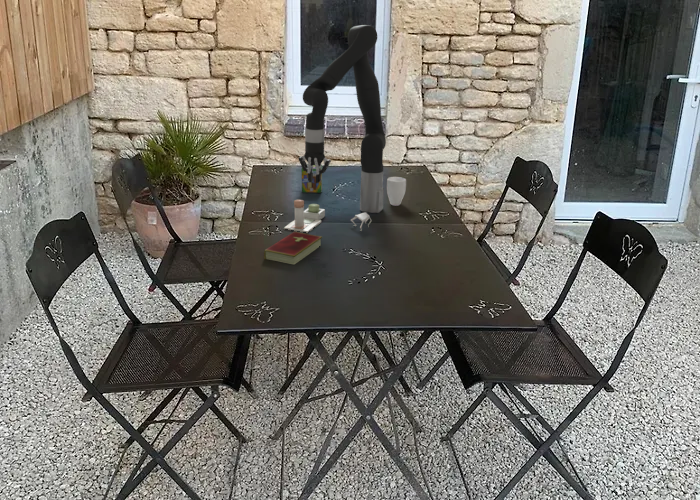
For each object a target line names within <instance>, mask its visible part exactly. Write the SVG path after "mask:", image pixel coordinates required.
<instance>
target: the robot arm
mask: <svg viewBox="0 0 700 500" xmlns="http://www.w3.org/2000/svg"><path fill="white" fill-rule="evenodd" d="M377 42H378V32H377V30H376V28H375V27H374V26H372V25H369V24H362V25H354V26H353V27H351V28H350V29H349V31H348V33H347V44H348V48H347V49H346V50H345V51H344V52H343V53H342V54H341V55H339V56H338V57H337V58H336V59H334V60H333V61H332V62H331V63H330V64H329V65H328V66H327V67H326V68H325V70H324V71H323V72H322V74H321V75H320V76H319V77H318V78H317V79H315V80H314V81H312V83H310V84H309V85H308V86H307V87H306V88H305V89H304V91H303V92H302V93H303V94H302V101H303V103H304V104H305V105H307V106H310V107H312V110H311V112H308V113H307V114H306V117H305V135H304V145H305V146H304V148H305V149H304V150H305V151H304V155H302V156H299V157H298V159H297V160H298V161H299V163H300V166H301V169H302V168H303V170H304V171H306V172H308V181H309V182H313V172H312V171H313V166H314V165H315V169H316V183H319V182H320V181H321V174H322V175H323V174H324V173H326V171H327V170H328V169H329V168H328V167H329V165H330V164H331V161H332V160H331V159H328V158H326V155H325V116H326V113H327V109H328V105H329V96H328V93H327V92H329V91H333V90H334V89H336V87H337V86H338V84H339V83H340V82H341V81H342V80H343V78H344V77H345V75H346V74H348V72H349V71H350V70H351V68H353V75H354V81H355V90H356V91H355V92H356V98H357V103H358V107H359V109H360V113H361V114H362V119H363V122H364V137H363V138H362V140H361V142H360V143H361V144H360V167H361V169H360V170H361V171H360V173H361V174H360V191H359V193H360V194H359V195H360V196H359V198H360V199H359V210H360V211H361V212H362V213H364V212H366V213H367V214H368V213H373V214H376V213H377V214H379V213H380V212H381V211H382V210H384V209H383V208H384V189H385V188H384V187H383V185H384V184H383V183H384V182H383V180H384V162H383V159H384V158H383V154H384V150H385V147H386V144H387V140H386V135H385V130H384V126H383V121H382V120H383V119H382V111H381V109H382V108H381V107H382V106H381V96H380V87H379V81H378V79H377V76H376V74H375V72H374V70H373V68H372V67H371V65H370V64H371V63H370V61H369V56H368V52H369V51H371V49H372V48H373V47H374V46H375V45H376V44H377ZM322 163H323V165H322ZM307 164H308V166H307ZM321 165H322V170H321Z"/></svg>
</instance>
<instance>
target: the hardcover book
mask: <svg viewBox="0 0 700 500" xmlns="http://www.w3.org/2000/svg"><path fill="white" fill-rule="evenodd" d="M322 239H323V236H322V235H314V234H311V233H310V234H309V233H303V232H297V231H293V232H291V233H290V234H288V235H286V236H285V237H283V238H282V239H279V240H278V241H277V242H276V243H274V244H272V245H270V246H269V247H268V248H266V249H264V252H263V257H264V260H268V261H269V260H270V261H276V262H280V263H284V264H289V265H296V264H297V263H299V262H300V261H302V260H303V259H304V258H306V257H308V255H310V254H311V253H313V252H314V251H316V250H317V249H318V248H319V246H320V247H321V246H322V245H321V242H322V241H321V240H322Z"/></svg>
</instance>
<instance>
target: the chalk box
mask: <svg viewBox="0 0 700 500" xmlns="http://www.w3.org/2000/svg"><path fill="white" fill-rule="evenodd" d="M306 164H307V166H308V163H306ZM322 168H323V164H321V170H322ZM312 172H313V182H309V181H308V172H306V171H304V170H303V168H302V167H301V193H320V194H321V193H322V190H323V173H322V174H321V181H320V182H319V183H316V169H315V165H314V166H313V171H312Z"/></svg>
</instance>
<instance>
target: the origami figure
mask: <svg viewBox="0 0 700 500" xmlns="http://www.w3.org/2000/svg"><path fill="white" fill-rule="evenodd" d="M356 219H358V220H360V221H361V224H360V226H359V229H360V231H361V232H362V231H363V229H362V227H363V224H364V223H365V224H367V222H368V220H370V221H369V223H368V224H367V226H368V228H369V227H370V226H369V225H371V223H372V221H373V220H372V219H371V217H370V215H369V214H368V212H362V213H358V214H355V215H354V217H352V218H351V219H350V222H351V223H353V224H354V225H353V226H355V227H356V226H357V224H356V223H355V221H354V220H356Z"/></svg>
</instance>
